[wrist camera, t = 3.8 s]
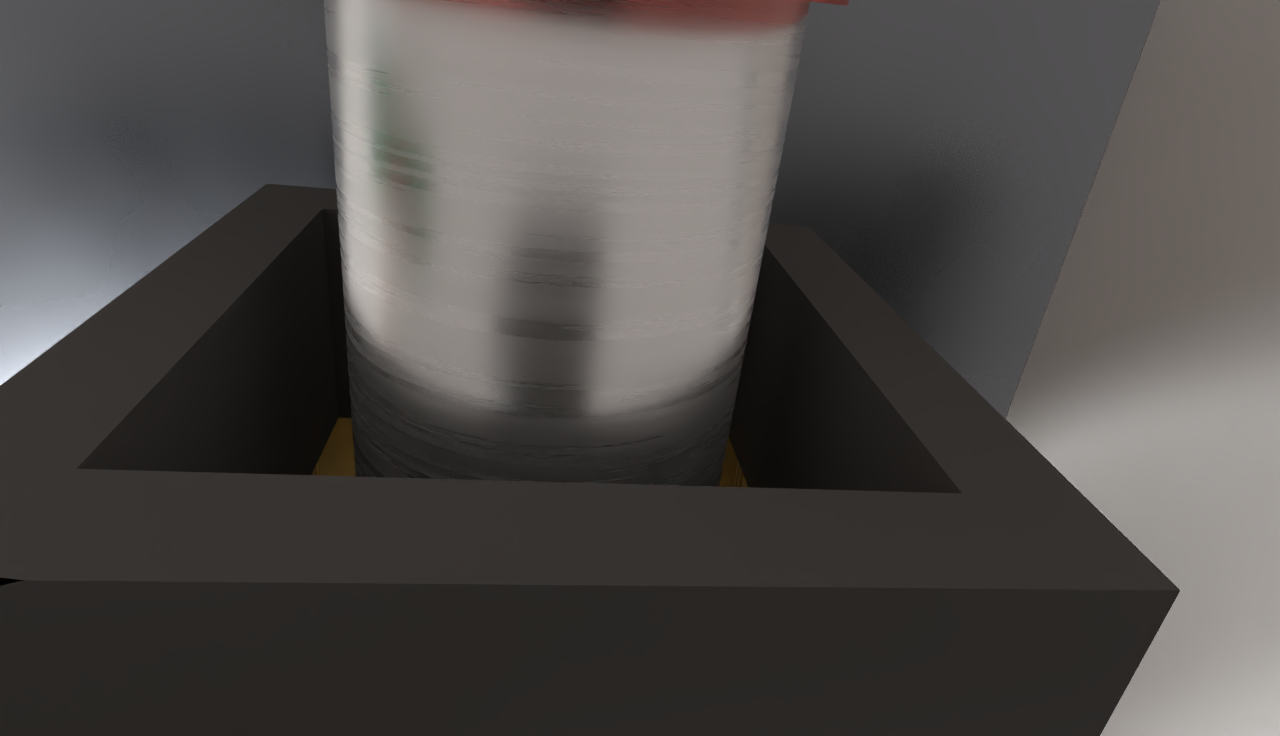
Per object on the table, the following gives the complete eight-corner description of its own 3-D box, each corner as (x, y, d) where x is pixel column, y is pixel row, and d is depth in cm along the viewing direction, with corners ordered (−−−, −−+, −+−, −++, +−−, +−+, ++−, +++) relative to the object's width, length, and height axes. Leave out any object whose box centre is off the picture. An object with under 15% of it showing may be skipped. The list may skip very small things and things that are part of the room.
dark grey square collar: (770, 404, 7) (1019, 885, 3) (288, 383, 6) (-61, 942, 3) (809, 225, 6) (1178, 587, 2) (266, 184, 5) (-253, 577, 2)
